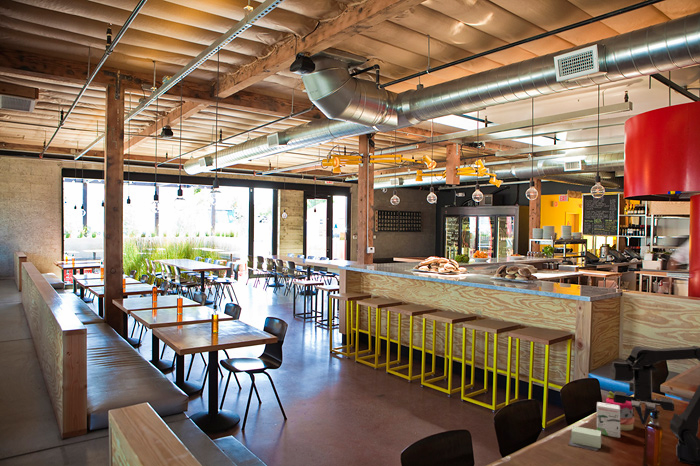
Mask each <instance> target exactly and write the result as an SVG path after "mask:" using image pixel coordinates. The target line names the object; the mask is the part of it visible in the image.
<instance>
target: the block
mask: <svg viewBox="0 0 700 466" xmlns="http://www.w3.org/2000/svg"><path fill="white" fill-rule="evenodd" d="M571 435H572V443H577V444H582V445H587V446H592V447H596V448H598V449H602V448H601V447H602V446H601V445H602V434H601V431H598V430H597V429H592V428H588V427H582V426H575V425H573V426H572V428H571Z"/></svg>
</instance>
